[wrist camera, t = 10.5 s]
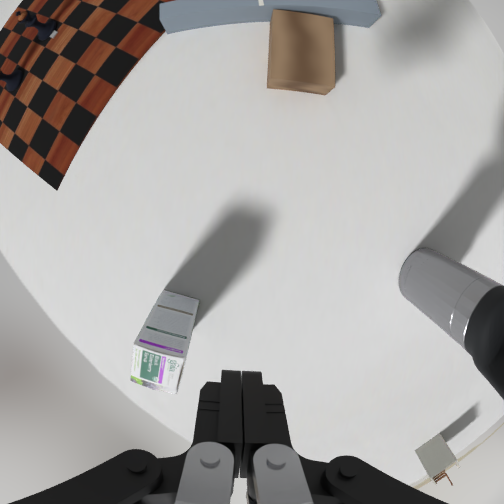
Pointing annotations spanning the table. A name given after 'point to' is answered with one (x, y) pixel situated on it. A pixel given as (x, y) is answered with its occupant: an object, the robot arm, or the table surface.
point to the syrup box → (164, 343)
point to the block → (301, 52)
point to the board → (261, 12)
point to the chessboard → (66, 73)
